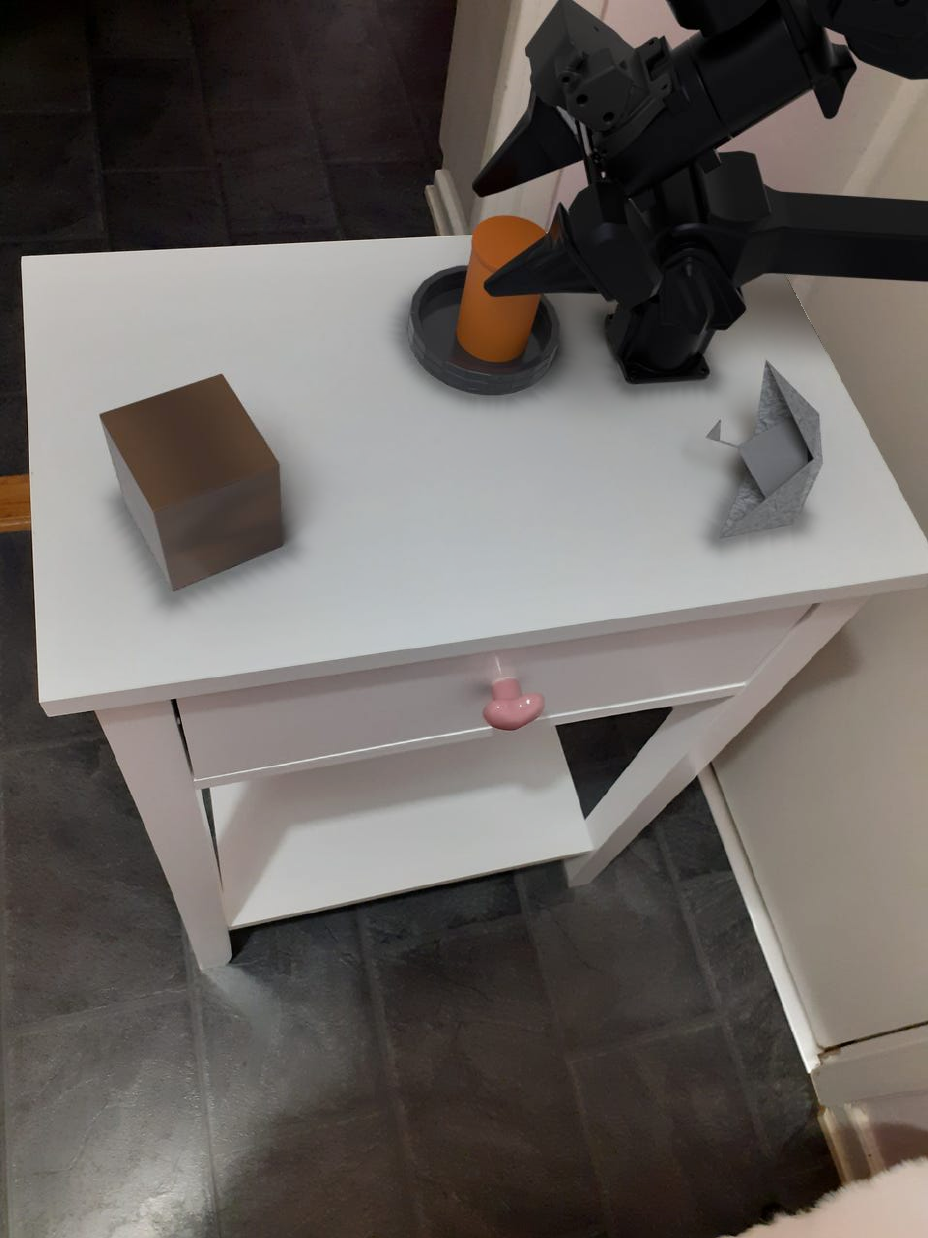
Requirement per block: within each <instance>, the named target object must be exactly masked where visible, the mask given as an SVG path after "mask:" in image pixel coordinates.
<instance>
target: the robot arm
mask: <svg viewBox="0 0 928 1238" xmlns="http://www.w3.org/2000/svg"><path fill="white" fill-rule="evenodd" d="M665 2H666V4H667V6H668V9H669V10H670V12H671V14H672V16H673V19H674V20H675V22H676V23H677V24H678V25H679V27H680V28H683V29H685V30H686V31H687V30H688V31H697V32H695V33H694V34H693V35H691V36H690V37H689V38H687V39H685V40H684V41H682V42H681V43H680V44H678V45H676V46H675V47H674V48H672V47H671V45H670V43H669V41H668V39H667V37H666V35H665V34H663V35H662V36H661V37H657V36H653V37H651V38H649V39H648V40H647V41H645V42H644V43H642V44H641V45H639V46H637V47H633V46H632V45H631V44H629V42H628V41H625V40H624V38H622V37H621V35H620V34H619V33H618V32H617V31H615V30H614V29H613V28H612V27H610V26H609V25H608V24H606V23H605V22H604V21H602V20H601V19H600V18H599V17H597V16H596V15H594V14H592V13H591V12H590V11H589V10H587V9H586V8H584V6H581V5H580V3H578V2H576V1H575V0H557V1H556V2H555V4H554V5H553V7H552V8H551V10H550V11H549V13H548V14H547V15H546V17H545V18H544V19H543V21H542V22H541V24H540V25H539V27H538V28H537V30H536V31H535V33H533V35H532V37H531V38H530V39H529V41H528V42H527V44H526V46H525V47H524V54H525V56H526V58H528V61H529V66H530V74H529V83H530V90H529V97H528V103H527V107H526V109H525V111H524V112H523V114H522V116H521V117H520V119H519V120H518V122H517V123H516V124H515V126H514V127H513V129H512V130H511V131H510V133H509V134H508V135H507V137H506V138H505V140H503V141H502V143H501V144H500V145H499V147H498V148H497V150H496V151H495V152H494V154H493V155H492V156H491V158H490V159H489V160H488V162H486V164H485V165H484V167H483V168H482V169H481V170H480V172H479V173H478V174H477V176H476V177H475V178H474V180H473V181H472V182H471V189H472V191H473V192H474V193H475V195H476V196H477V197H478V198H481V199H482V198H486V197H489V196H492V195H497V194H499V193H502V192H505V191H508V190H511V189H513V188H516V187H518V186H520V185H523V184H525V183H528V182H530V181H534V180H536V179H538V178H541V177H543V176H546V175H548V174H552V173H554V172H557V171H560V170H562V169H565V168H567V167H569V166H572V165H575V164H577V163H580V162H582V163H583V168H584V172H585V177H586V181H587V186H586V187H584V188H583V189H581V190H579V191H578V192H577V194H576V195H575V197H574V199H573V201H572V202H571V204H570V206H569V207H568V209H567V208H566V207H565V206H564V204H563V203H562V201H559V202H558V203H557V205H556V208H555V212H554V214H553V217H552V221H551V224H550V227H549V230H548V231H547V234H546V235H545V236H543V237H542V238H540V239H539V240H538V241H536V242H535V243H534V244H532V245H531V246H529V247H528V248H527V249H525V250H524V251H523V252H521V253H520V254H518V255H517V256H516V257H514V258H513V259H512V260H510V261H509V262H507V263H506V264H505V265H503V266H502V267H501V268H499V269H498V270H497V271H496V272H495V273H494V274H492V275H491V276H490V277H489V278H488V279H487V280H485V281H484V283H483V286H484V289H485V291H486V292H487V293H488V294H489V295H490V296H492V297H505V296H519V295H534V294H544V295H552V294H583V295H600V296H601V297H602V298H603V299H604V300H605V302H606V303H611V302H614V301H615V302H616V303H617V304H616V307H615V310H614V313H613V312H611V313H607V314H606V316H605V318H604V325H605V327H606V330H607V332H606V333H607V336H608V339H609V342H610V344H611V348H612V349H613V353H614V355H615V357H616V358H617V359H618V361H619V364H620V368H621V370H622V372H623V375H624V377H625V379H626V381H627V382H628V383H630V384H645V383H661V382H676V381H677V382H678V381H693V380H705V379H707V378H708V377H709V375H710V373H711V369H710V367H709V365H708V361H707V360H706V358H705V354H706V351H707V349H708V347H709V346H710V344H711V342H712V340H713V337H714V336H715V333H716V332H717V331H727V330H728V329H729V328H730V327H732V326H733V325H734V324H735V323H736V321H738V320H739V319H740V318H741V317H742V316H743V315H744V314H745V313H746V312H747V305H746V300H745V297H744V292H743V287H742V286H744V285H746V284H748V283H750V282H752V281H754V280H756V279H757V278H759V277H762V276H763V275H768V274H769V275H770V274H772V275H773V274H775V275H776V274H777V275H793V276H808V277H809V276H811V277H826V278H827V277H828V278H846V279H847V278H848V279H863V280H864V279H866V280H880V281H881V280H883V281H900V282H901V281H902V282H919V283H928V200H924V199H923V200H921V199H908V198H907V199H905V198H891V197H875V196H859V195H844V194H843V195H841V194H828V193H827V194H826V193H814V192H813V193H809V192H797V191H795V192H794V191H782V190H778V189H774V188H772V187H770V186H769V185H767V184H765V183H764V181H763V176H762V173H761V170H760V166H759V163H758V162H759V161H758V158H757V155H756V153H754V152H750V151H746V150H731V151H723V152H722V151H718V149H719V148H721V147H722V146H724V145H725V144H727V143H729V142H730V141H732V140H733V139H735V138H737V137H738V136H741V134H743V133H745V132H746V131H748V130H750V129H751V128H753V127H754V126H757V125H758V124H760V123H761V122H764V121H765V120H766V119H768V118H769V117H771V116H773V115H774V114H776V113H777V112H780V111H781V110H783V109H784V108H785V107H787V106H789V105H790V104H792V103H794V102H796V101H797V100H798V99H800V98H801V97H803V96H805V95H807V94H808V93H810V92H811V91H813V94H814V96H815V99H816V101H817V103H818V106H819V108H820V111H821V114H822V116H823V117H824V119H826V120H832V119H834V118H835V117H837V115H838V113H839V110H840V108H841V105H842V103H843V100H844V97H845V93H846V90H847V88H848V85H849V83H850V81H851V78H852V77H853V76H854V75H855V73H856V72H857V70H858V66H857V65H858V64H857V63H856V61H855V59H854V56H855V58H856V59H858V60H859V61H861V62H862V63H863V64H866V65H868V66H871V67H874V68H877V69H880V70H881V71H885V72H888V73H890V74H892V75H896V76H898V77H901V78H904V79H906V80H908V81H921V80H922V81H924V80H928V0H665ZM827 30H830V31H832V32H835V33H837V34H838V35H841V36H843V37H844V40H845V43H846V44H843V43H841V44H840V43H834V42H831V39H830V37H829V33H828V31H827ZM852 54H853V55H854V56H853V55H852ZM603 173H604V176H603Z"/></svg>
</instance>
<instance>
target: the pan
mask: <svg viewBox="0 0 928 1238" xmlns="http://www.w3.org/2000/svg"><path fill="white" fill-rule="evenodd" d="M467 269H468V264H464V265H463V264H461V265H455V266H452V267H448V268H445V269H441V270H439V271H436V272H435V273H433V274H432V275H430V276H428V277H427V278H425V280H423V281H422V282H421V284H420V285H419V286H418V288H417V289H416V291H415V292H414V293H413V295H412V298H411V303H410V308H409V314H408V322H407V337H408V343H409V346H410V348H411V351H412V353H413V355H414V357H415V358H416V360H417V361H418V362H419V364H420V366H422V367H423V368H424V369H425V371H427V372H428V373H429V374H430V375H432V376H433V377H434V378H436V379H437V380H439V381H440V382H442V383H444V384H446V385H447V386H450V387H452V388H454V389H457V390H460V391H464V392H467V393H471V394H477V395H485V396H499V395H507V394H512V393H516V392H519V391H521V390H524V389H526V388H528V387H530V386H532V385H533V384H535V383H536V382H538V381H539V380H540V379H541V378H542V377H543V376H544V375H545V374H546V372H547V371H548V369H549V367H550V365H551V363H552V360H553V359H554V356H555V353H556V350H557V348H558V344H559V341H560V330H561V329H560V328H561V323H560V320H559V317H558V314H557V312H556V308H555V307H554V305H553V303H552V302H551V301H550V299H549V298H548V297H547V296H546V294H541V297H540V301H539V304H538V308H537V311H536V315H535V318H534V322H533V325H532V329H531V332H530V336H529V339H528V343H527V346H526V348H525V350H524V352H523V353H522V354H521V355H520V356H518V357H517V358H515V359H513V360H511V361H507V362H498V363H496V362H488V361H484V360H481V359H478V358H476V357H474V356H472V355H471V354H469V353H468V352H467V351H466V350H465V349H464V348H463V347H462V346H461V344H460V343H459V341H458V338H457V335H456V327H457V322H458V317H459V312H460V306H461V301H462V296H463V291H464V285H465V280H466V275H467Z"/></svg>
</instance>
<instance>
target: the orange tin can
mask: <svg viewBox="0 0 928 1238" xmlns="http://www.w3.org/2000/svg"><path fill="white" fill-rule="evenodd" d="M547 233H548V231H546V230H545V229H544V228H543V227H541V226H540V225H539V224H537V223H536V222H533V221H532V220H530V219H527V218H524V217H521V216H516V215H511V214H510V215H507V214H506V215H505V214H502V215H494V216H490V217H488V218H486V219H483V220H482V221H480V222H479V223H478V224H477V225H476V226H475V228H474V230H473V231H472V235H471V240H470V241H471V249H470V253H469V254H470V255H469V260H468V264H467V265H468V269H467V275H466V280H465V285H464V291H463V296H462V301H461V306H460V312H459V317H458V322H457V327H456V335H457V338H458V341H459V343H460V344H461V346H462V347H463V348H464V349H465V350H466V351H467V352H468V353H469V354H471V355H472V356H474V357H476V358H478V359H481V360H484V361H488V362H496V363H498V362H507V361H511V360H513V359H515V358H517V357H518V356H520V355H521V354H522V353H523V352H524V350H525V348H526V346H527V343H528V339H529V336H530V332H531V329H532V325H533V322H534V318H535V315H536V311H537V308H538V304H539V301H540V297H541V294H534V295H519V296H505V297H492V296H490V295H489V294H488V293H487V292H486V291H485V289H484V286H483V283H484V281H485V280H487V279H488V278H489V277H490V276H491V275H492V274H494V273H495V272H496V271H497V270H498V269H499V268H501V267H502V266H503V265H505V264H506V263H507V262H509V261H510V260H512V259H513V258H514V257H516V256H517V255H518V254H520V253H521V252H523V251H524V250H525V249H527V248H528V247H529V246H531V245H532V244H534V243H535V242H536V241H538V240H539V239H540V238H542V237H543V236H545V235H546V234H547Z"/></svg>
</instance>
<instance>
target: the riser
mask: <svg viewBox="0 0 928 1238" xmlns="http://www.w3.org/2000/svg"><path fill="white" fill-rule="evenodd" d="M98 416H99V420H100V423H101V426H102V430H103V434H104V437H105V441H106V444H107V448H108V451H109V454H110V458H111V461H112V465H113V468H114V471H115V476H116V478H117V479H116V480H117V482H118V485H119V489H120V492H121V495H122V496H121V497H122V499H123V502H124V504H125V507H126V508H127V510H128V512H129V514H130V515H131V517H132V520H133V521H134V523H135V525H136V527H137V528H138V530H139V532H140V533H141V535H142V538H143V540H144V541H145V543H146V545H147V547H148V549H149V551H150V552H151V554H152V556H153V559H155V561H156V563H157V565H158V567H159V569H160V570H161V572H162V574H163V576H164V578H165V580H166V581H167V583H168V585H169V587H170V589H171V591H173V592H175V591H177V590H180V589H182V588H184V587H187V586H189V585H191V584H192V585H193V584H194V583H196V582H199V581H201V580H204V579H206V578H208V577H211V576H214V575H216V574H218V573H221V572H223V571H225V570H228V569H230V568H233V567H235V566H238V565H240V564H242V563H244V562H247V561H249V560H252V559H254V558H257V557H259V556H262V555H264V554H267V553H269V552H272V551H273V550H276V549H279V548H282V547H283V545H284V542H283V540H284V539H283V515H282V514H283V513H282V489H281V466H280V465H281V463H280V462H279V460H278V459H277V457H276V456H275V454H274V453H273V451H272V449H271V448H270V446H269V444H268V443H267V442H266V440H265V438H264V436H263V435H262V434H261V432H260V431H259V429H258V428H257V426H256V424H255V422H254V421H253V420H252V418H251V416H250V415H249V413H248V411H247V409H245V406H244V405H243V404H242V401H240V399H239V397H238V396H237V394H236V393H235V391H234V389H233V388H232V386H231V385H230V383H229V381H228V380H227V378H226V377H225V375H224V374H223V373H219V374H216V375H213V376H209V377H206V378H204V379H201V380H197V381H195V382H192V383H189V384H185V385H183V386H179V387H176V388H173V389H170V390H167V391H165V392H164V391H163V392H162V393H158V394H156V395H152V396H150V397H146V398H143V399H140V400H137V401H134V402H131V403H127V404H125V405H122V406H119V407H115V408H113V409H109V410H107V411H104V412H101V413H99V415H98Z"/></svg>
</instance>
